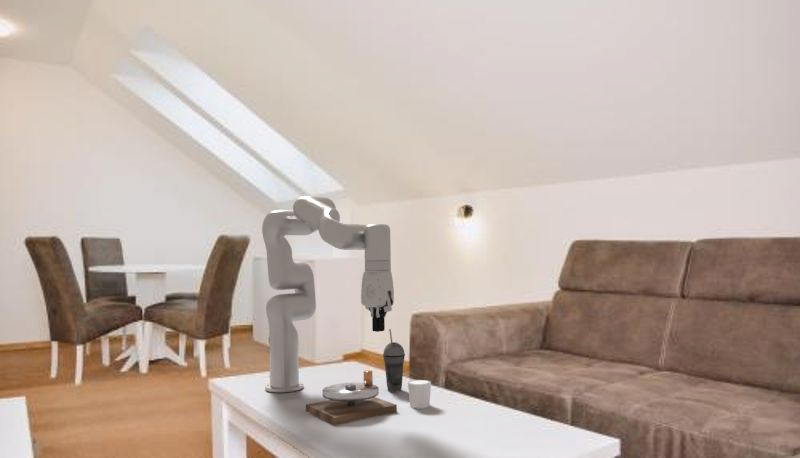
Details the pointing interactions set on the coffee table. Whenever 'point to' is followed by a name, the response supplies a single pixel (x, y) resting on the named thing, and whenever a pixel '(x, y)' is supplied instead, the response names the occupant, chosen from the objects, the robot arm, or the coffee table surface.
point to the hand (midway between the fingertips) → (378, 330)
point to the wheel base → (350, 410)
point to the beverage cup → (394, 365)
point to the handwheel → (352, 390)
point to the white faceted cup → (419, 393)
